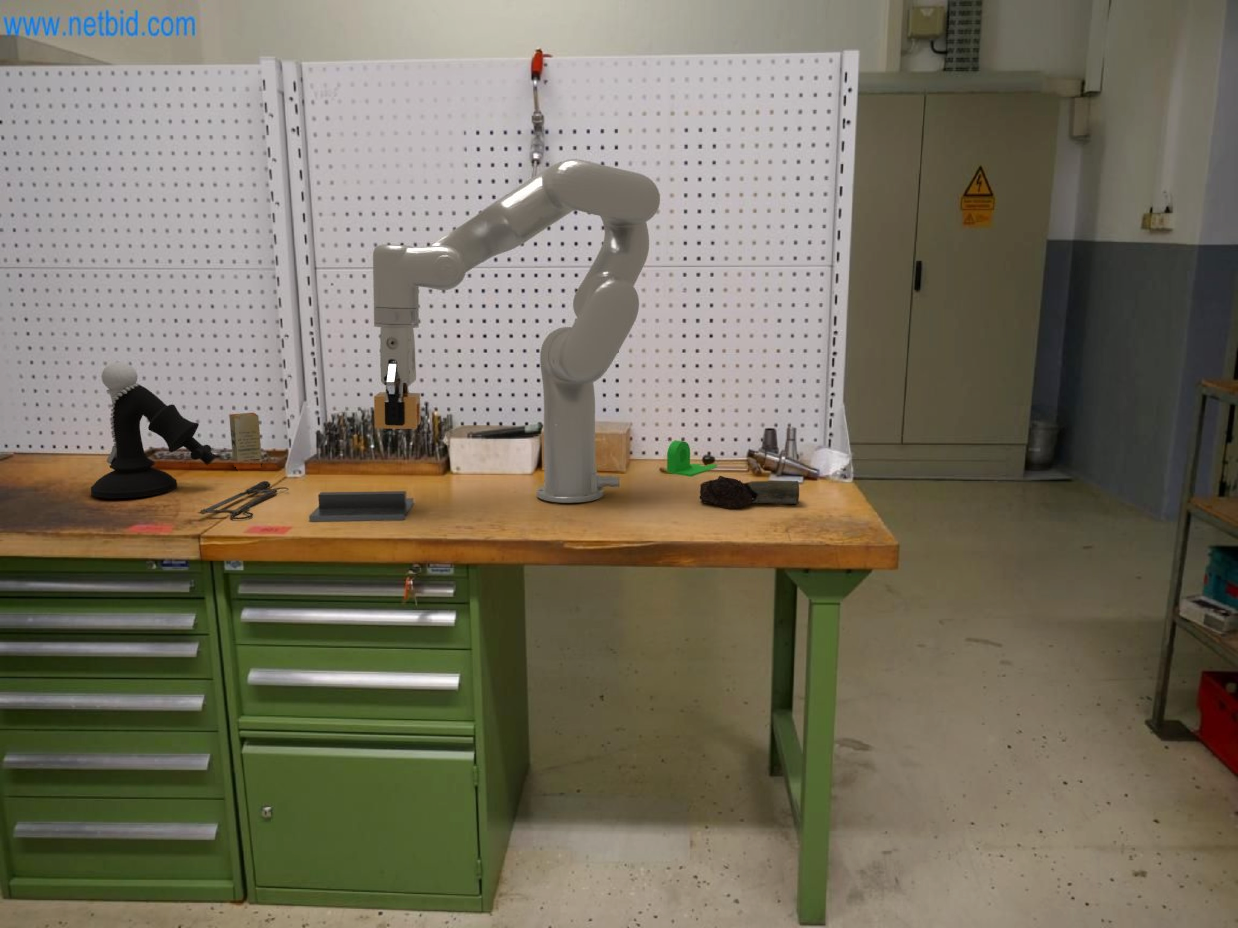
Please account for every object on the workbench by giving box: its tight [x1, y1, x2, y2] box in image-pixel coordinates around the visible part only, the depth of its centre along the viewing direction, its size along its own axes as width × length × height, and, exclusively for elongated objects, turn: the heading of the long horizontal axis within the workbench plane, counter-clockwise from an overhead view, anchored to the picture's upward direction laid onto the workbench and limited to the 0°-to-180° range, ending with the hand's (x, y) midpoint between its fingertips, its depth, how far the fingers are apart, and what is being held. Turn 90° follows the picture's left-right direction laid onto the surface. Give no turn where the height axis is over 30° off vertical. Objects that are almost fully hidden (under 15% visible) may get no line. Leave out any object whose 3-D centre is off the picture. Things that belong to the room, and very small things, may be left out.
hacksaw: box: [197, 480, 289, 520], centre depth 175 cm, size 24×10×1 cm, turn 171°
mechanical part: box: [666, 440, 718, 478], centre depth 199 cm, size 12×6×8 cm, turn 142°
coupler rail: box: [308, 490, 415, 522], centre depth 169 cm, size 16×12×4 cm
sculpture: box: [90, 361, 217, 499], centre depth 184 cm, size 15×24×25 cm, turn 92°
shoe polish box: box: [228, 412, 263, 461], centre depth 204 cm, size 5×5×12 cm
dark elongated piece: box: [698, 475, 800, 510], centre depth 172 cm, size 18×7×6 cm, turn 87°
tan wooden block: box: [373, 391, 421, 430], centre depth 166 cm, size 7×6×6 cm
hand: (397, 421), depth 166 cm, fingers closed on tan wooden block, 6 cm apart
